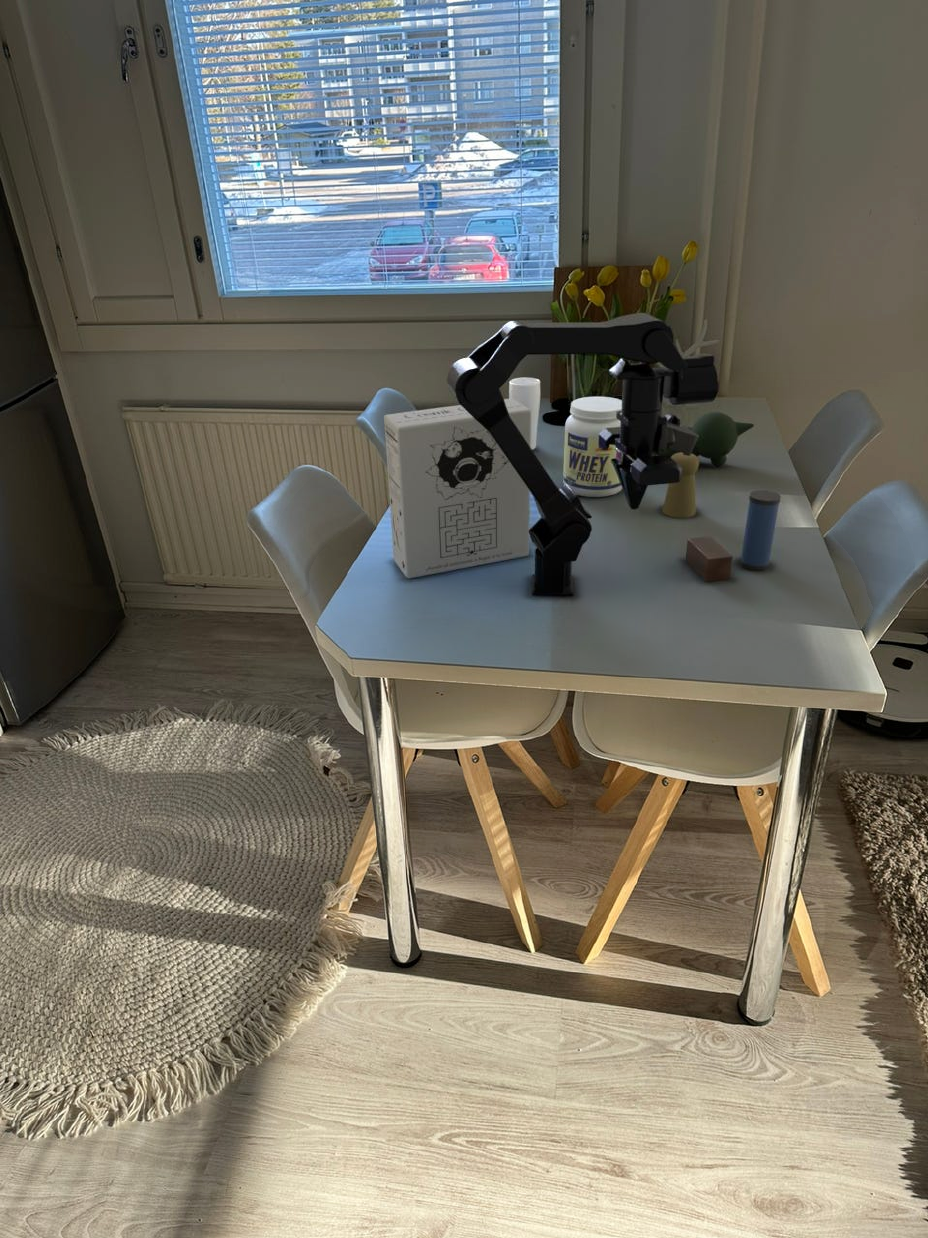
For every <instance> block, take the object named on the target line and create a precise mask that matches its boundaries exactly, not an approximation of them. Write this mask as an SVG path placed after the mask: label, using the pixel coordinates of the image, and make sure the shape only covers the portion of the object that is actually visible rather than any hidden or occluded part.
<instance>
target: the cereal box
mask: <svg viewBox="0 0 928 1238" xmlns="http://www.w3.org/2000/svg"><path fill="white" fill-rule="evenodd" d="M503 399H504V401H505V404H506V407H507V410H508V413H509V416H510V418H511V419H512V421H513V422H514V424H515V425H516V427H517V428H518V430H519V431H520V433H521V434H522V436H523V437H524V439H525V440H526V442H527V443H528V445H529V446H530V447H531V410H530V409H528V408H527V407H525V406H523V405H522V404H520V403H518V402H517V401H515V400H514V399H511V398H510V399H509V398H503ZM383 422H384V434H385V435H384V436H385V437H384V438H385V439H384V440H385V452H386V466H387V480H388V495H389V496H388V497H389V510H390V523H391V524H390V525H391V538H392V539H391V540H392V551H393V552H392V553H393V561H394V563H395V564H396V565H397V567H398V568H399V569H400V571H401V572H402V573H403V574H404V576H405V578H406V579H414V578H420V577H424V576H430V575H436V574H440V573H445V572H451V571H455V570H461V569H466V568H472V567H475V566H476V567H477V566H481V565H487V564H493V563H498V562H503V561H507V560H513V559H514V560H515V559H518V558H523V557H528V556H529V555H530V535H529V530H530V513H531V512H530V508H531V507H530V504H531V502H530V501H531V492H530V490H529V489H528V488H527V486H526V485H525V483H524V482H523V480H522V479H521V477H520V476H519V475H518V473H517V472H516V470H515V469H514V467H513V466H512V464H511V463H510V462H509V460H508V459H507V457H506V456H505V454H504V453H503V451H502V450H501V449H500V447H499V446H498V444H497V443H496V441H495V440H494V439H493V437H492V436H491V434H490V433H489V431H488V430H487V429H486V428H484V427H483V426H482V425H481V424H480V423H479V422H478V421H477V420H476V419H474V418H473V417H472V416H471V415H470V414H469V413H468V412H467V411H466V410H465V409H464V408H463V407H462V406H461V405H460V404H457V405H449V406H442V407H441V406H440V407H434V408H427V409H418V410H411V411H404V412H397V413H396V412H395V413H389V414H384V416H383Z"/></svg>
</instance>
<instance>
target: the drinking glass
mask: <svg viewBox="0 0 928 1238" xmlns="http://www.w3.org/2000/svg"><path fill="white" fill-rule="evenodd" d="M508 384H509V385H508V386H509V387H508V399H510V398H511V399H514V400H515V401H517V402H518V403H520V404H522V405H523V406H525V407H527V408H528V409H530V410H531V447H530V448H531V449H532V450H533V451H534V450H535V449H536V447H537V435H538V427H539V425H538V424H539V415H540V406H541V380H540V379H538V378H534V377H516V378H512V379H511V380H509V383H508Z"/></svg>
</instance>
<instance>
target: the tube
mask: <svg viewBox="0 0 928 1238" xmlns="http://www.w3.org/2000/svg"><path fill="white" fill-rule="evenodd" d="M781 498H782V495H780V493H777V492H776V491H772V490H766V489H757V490H753V491H751V492H750V493H749V496H748V500H749V502H748V509H747V515H746V523H745V528H744V536H743V541H742V549H741V556H740V558H739V565H740V566H741V567H742V568H744V569H746V570H750V571H756V572H757V571H758V572H759V571H765V570H768V569H769V567H770V564H771V561H770V560H771V554H772V547H773V542H774V537H775V536H774V535H775V529H776V523H777V517H778V510H779V505H780V502H781Z"/></svg>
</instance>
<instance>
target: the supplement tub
mask: <svg viewBox="0 0 928 1238" xmlns="http://www.w3.org/2000/svg"><path fill="white" fill-rule="evenodd" d="M621 407H622V399H619V398H615V397H609V396H585V397H580V398H577V399H574V400H573V401H571V403H570V410H569V413H570V415H569V416H568V417H567V419H566V421H565V424H564V449H563V474H562V478H563V479H562V483H563V486H564V485H565V484H566V483H567V484H568V485H569V486H570V487H571V489H572V490H573V491H574V492H575V493H576V495H577V496H581V497H587V498H603V497H604V498H605V497H609V496H613V495H616V494H618V493H619V492H621V491H622V490H623V489H622V486H621V483H620V481H619V478H618V476H617V474H616V471H615V469H614V466H613V464H612V463H611V459H613V458H616V452H617V451H616V450H615V447H616V446H615V445H609V449H608V450H607V451H603V450H602V449H601V448H600V447H599V446H598V443H599V434H600V433H601V432H602V431H603V430H604V429H605V428H612V427H620V422H621V421H619V420H618V419H617V418H616V412H617V411H621Z"/></svg>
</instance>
